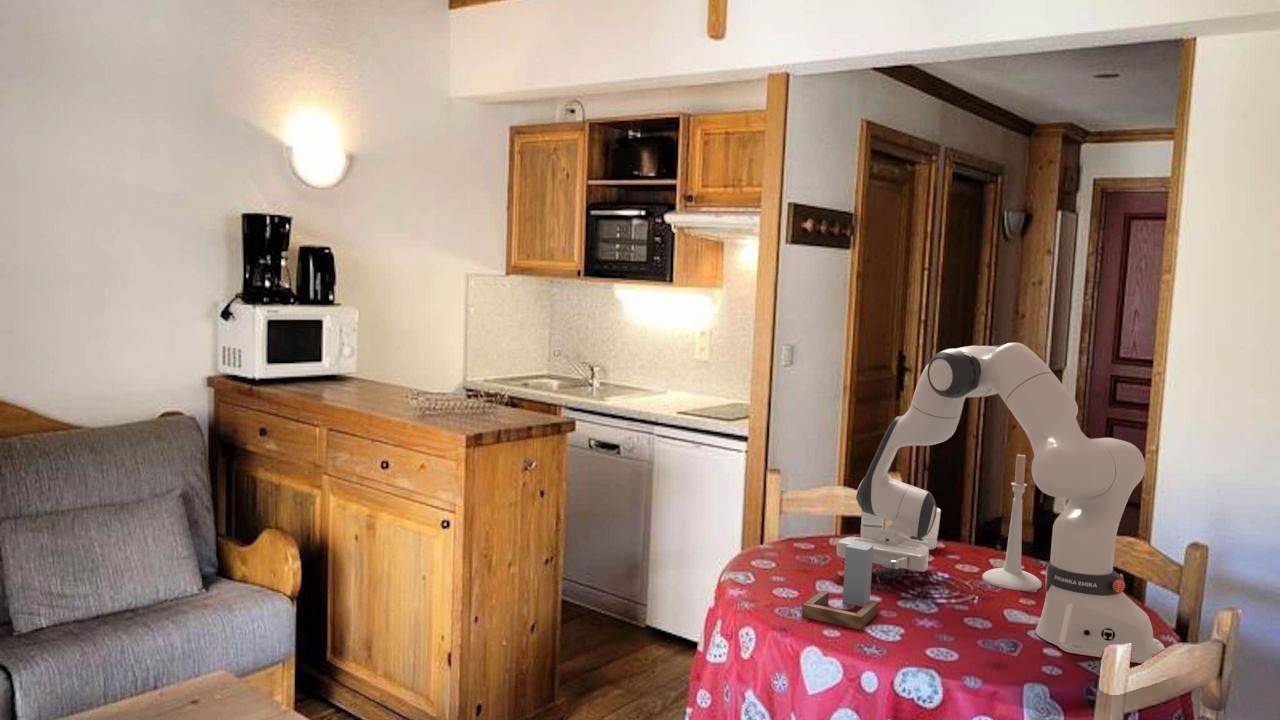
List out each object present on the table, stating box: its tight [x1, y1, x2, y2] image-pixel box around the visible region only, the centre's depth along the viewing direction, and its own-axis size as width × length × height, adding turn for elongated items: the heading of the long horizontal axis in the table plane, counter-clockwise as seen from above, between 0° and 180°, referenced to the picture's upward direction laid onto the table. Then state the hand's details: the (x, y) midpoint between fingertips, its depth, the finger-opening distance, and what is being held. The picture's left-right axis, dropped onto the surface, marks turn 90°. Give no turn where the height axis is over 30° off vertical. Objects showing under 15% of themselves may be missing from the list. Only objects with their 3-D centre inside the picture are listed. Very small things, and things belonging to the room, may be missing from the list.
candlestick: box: [981, 453, 1043, 592], centre depth 225 cm, size 13×13×30 cm
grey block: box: [842, 542, 873, 608], centre depth 207 cm, size 4×4×12 cm
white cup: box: [923, 507, 942, 551], centre depth 254 cm, size 8×8×10 cm
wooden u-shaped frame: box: [801, 589, 879, 631], centre depth 198 cm, size 12×11×2 cm
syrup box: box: [860, 510, 885, 540], centre depth 256 cm, size 6×6×14 cm
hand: (872, 561), depth 215 cm, fingers open, 8 cm apart
